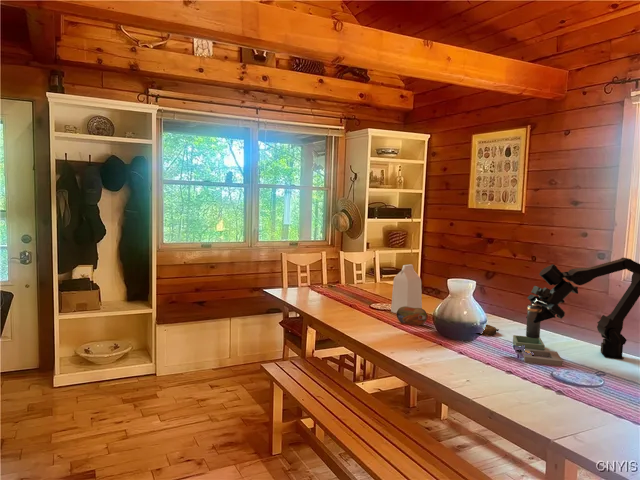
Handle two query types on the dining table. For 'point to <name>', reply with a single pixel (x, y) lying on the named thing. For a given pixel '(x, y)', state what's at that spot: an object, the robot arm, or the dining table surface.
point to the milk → (406, 289)
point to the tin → (412, 315)
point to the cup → (528, 342)
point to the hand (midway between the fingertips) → (530, 320)
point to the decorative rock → (489, 330)
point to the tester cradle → (552, 360)
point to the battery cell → (532, 327)
